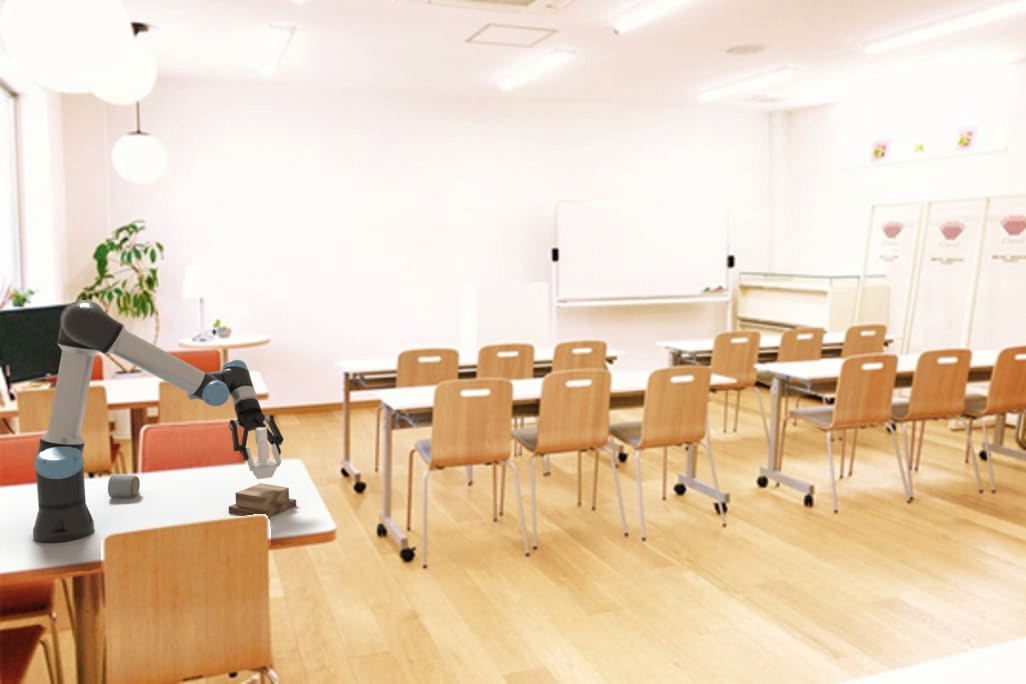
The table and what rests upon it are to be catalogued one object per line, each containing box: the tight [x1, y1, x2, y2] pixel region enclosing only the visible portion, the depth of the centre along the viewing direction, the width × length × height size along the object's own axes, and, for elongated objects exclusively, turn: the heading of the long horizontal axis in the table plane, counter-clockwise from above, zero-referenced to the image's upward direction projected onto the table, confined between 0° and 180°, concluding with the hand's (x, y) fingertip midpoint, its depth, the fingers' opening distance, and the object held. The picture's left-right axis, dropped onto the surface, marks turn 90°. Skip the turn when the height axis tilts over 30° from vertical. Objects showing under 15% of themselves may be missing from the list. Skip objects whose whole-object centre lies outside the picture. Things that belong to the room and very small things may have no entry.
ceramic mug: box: [107, 473, 141, 499], centre depth 274 cm, size 10×8×7 cm
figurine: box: [252, 426, 279, 480], centre depth 259 cm, size 7×9×15 cm
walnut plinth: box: [228, 482, 297, 519], centre depth 260 cm, size 14×14×6 cm
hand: (265, 466), depth 256 cm, fingers closed on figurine, 7 cm apart
